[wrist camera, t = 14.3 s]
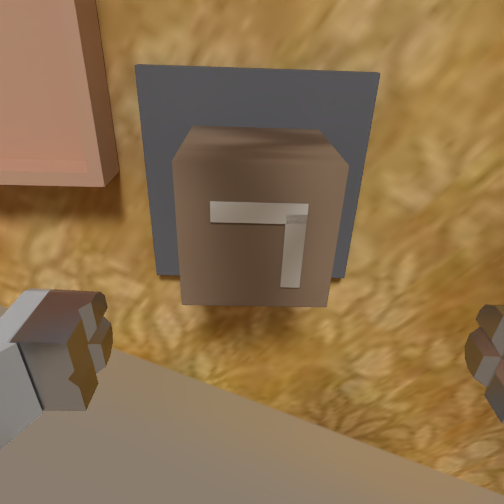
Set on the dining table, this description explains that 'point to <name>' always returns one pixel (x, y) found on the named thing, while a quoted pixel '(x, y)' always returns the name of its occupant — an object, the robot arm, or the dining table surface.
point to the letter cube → (257, 215)
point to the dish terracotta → (54, 96)
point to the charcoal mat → (249, 115)
